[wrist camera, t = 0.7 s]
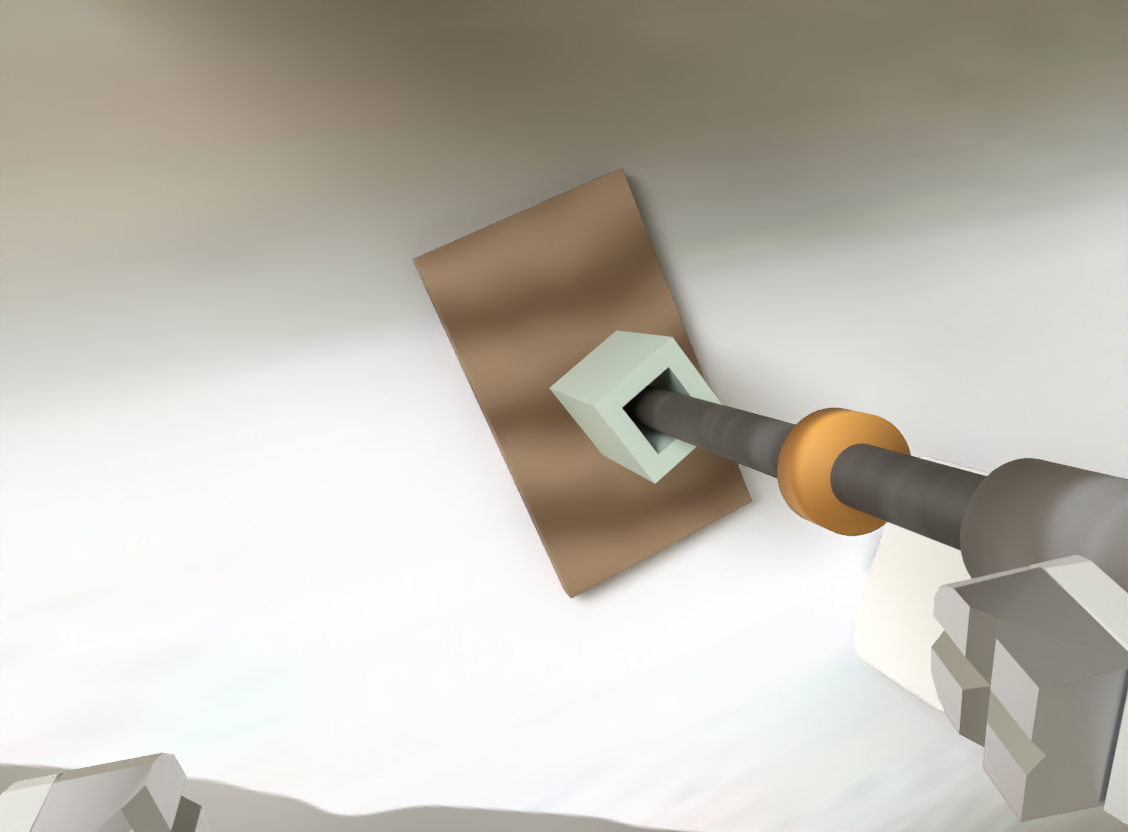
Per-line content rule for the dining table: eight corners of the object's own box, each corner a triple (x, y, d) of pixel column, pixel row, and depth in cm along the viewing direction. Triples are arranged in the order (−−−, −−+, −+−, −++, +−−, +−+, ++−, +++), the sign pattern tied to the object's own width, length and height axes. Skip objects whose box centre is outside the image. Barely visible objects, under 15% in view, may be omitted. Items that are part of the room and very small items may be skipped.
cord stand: (412, 259, 50) (702, 161, 13) (613, 171, 52) (1334, -120, 16) (564, 590, 55) (1080, 1191, 18) (741, 496, 58) (1510, 856, 21)
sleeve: (549, 388, 49) (593, 405, 41) (616, 330, 50) (672, 336, 42) (602, 455, 50) (655, 483, 43) (667, 397, 51) (730, 416, 43)
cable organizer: (903, 437, 60) (1036, 469, 49) (1022, 474, 64) (1172, 512, 53) (837, 645, 61) (953, 723, 50) (957, 672, 64) (1092, 750, 53)
